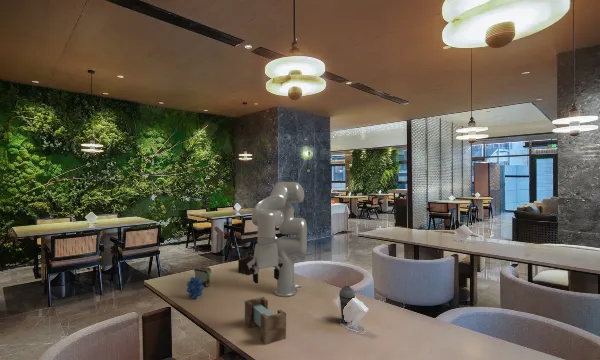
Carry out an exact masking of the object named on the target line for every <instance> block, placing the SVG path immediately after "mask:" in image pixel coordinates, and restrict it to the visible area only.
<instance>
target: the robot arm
mask: <svg viewBox="0 0 600 360" xmlns="http://www.w3.org/2000/svg"><path fill="white" fill-rule="evenodd" d="M304 199H305V191H304V188H303V187H302V185H301V184H300V183H299V182H296V181H279V182H276V183H275V184H274V186H273V188H272V191H271V193H270V195H269V196H267V197H266V198H263V199H262V200H260V201H259V202H257V204H255V206H254V209H253V211H252V214H251V222H252V224H253V225H254V226H257V243H255V246H254V249H255V250H254V256H253V258H254V259H253V260H251V261H250V262H249V263H247V266H248V268H249V270H250V271H251V272H252V273H253V274H252V281H253V282H254V283H255V284H257V285H258V283H259V274H258V273H259V271H260V270H263V269H269V268H274V269H273V278H274V279H275V280H277V281H276V282H277V283H276V289H274V291H273V293H274V295H275V296H279V297H285V298H287V297H292V296H296V294H297V293H298V292H297V289H300V288H302V284H301V283H299V284H297V283H295V261H294V258H293V256H292V255H305V254H306V252H307V249H308V248H307V247H308V246H307V245H308V242H307V241H308V224H307V220H306V219H305V218H303V217H295V208H294V206H293V205H292V204H293V203H294V204H296V203H299V204H300V203H302V202H303V201H304ZM276 227H278V232H279V233H280V234H282V235H290V236H281V237H278V236H276ZM292 235H293V236H292ZM252 264H253V265H254V266H255V267H254V268H252Z"/></svg>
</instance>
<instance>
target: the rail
mask: <svg viewBox="0 0 600 360" xmlns="http://www.w3.org/2000/svg"><path fill="white" fill-rule="evenodd" d="M261 314H266V315H267V316H270V315H275V314H274V313H273V312H271V311H270V310H269V309H268V310H267V309H266V308H265V307H263V306H262V305H261V304H259V305H254V306H252V320H253V321H254V322H255V323H256V324H257V326H259V328H261Z"/></svg>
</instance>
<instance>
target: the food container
mask: <svg viewBox="0 0 600 360" xmlns="http://www.w3.org/2000/svg"><path fill="white" fill-rule="evenodd" d="M193 272H194V278H195V277H199V280H202V281H203V283H202V285H203V286H204V288H208V287H209V286H210V281H211V274H212V269H211V267H207V266H198V267H195V268H194V271H193Z"/></svg>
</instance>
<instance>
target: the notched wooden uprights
mask: <svg viewBox="0 0 600 360" xmlns="http://www.w3.org/2000/svg"><path fill="white" fill-rule="evenodd" d="M259 304H261V305H262V306H263V307H265V308H266V309H267V310H269V308H268V306H269V305H268V304H269V300H268V299H267V298H265V296H261V297H258V298H257V297H256V298H252V299H247V300H244V324H245V325H246V327H247V328H252V327H256V326H258V325H257V324H256V323H255V322H254V321H253V320H252V306H254V305H259ZM286 339H287V313H286V312H285V311H283V310H282V309H278V310H277V313H275V314H274V315H270V316H267V315H266V314H261V327H260V340H261V342H262V343H263V344H264V345H270V344H273V343H275V342H279V341H282V340H286Z"/></svg>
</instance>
